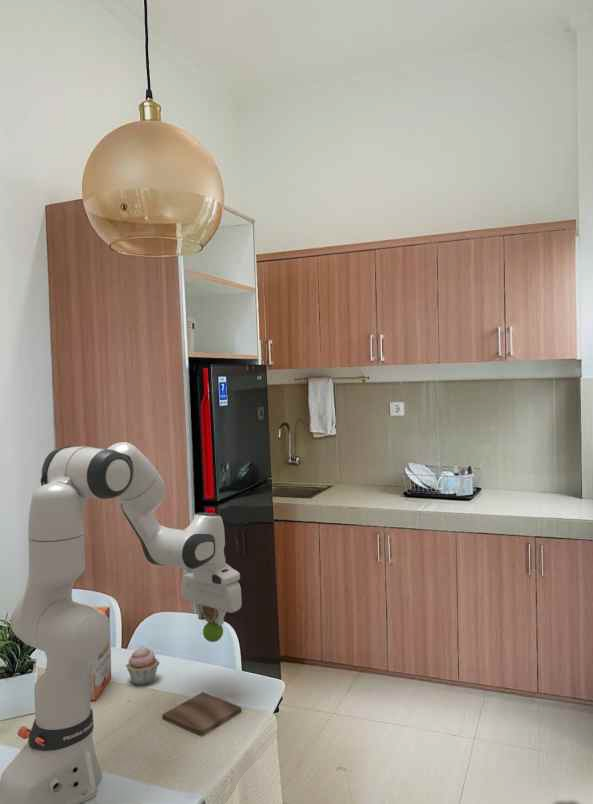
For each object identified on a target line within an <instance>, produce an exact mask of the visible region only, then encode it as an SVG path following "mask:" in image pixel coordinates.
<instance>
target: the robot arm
mask: <svg viewBox="0 0 593 804" xmlns="http://www.w3.org/2000/svg"><path fill="white" fill-rule="evenodd" d="M41 468H42V469H41V477H40V485H41V486H39V487H37V489H36V490H35V491H34V492H33V494H32V495H31V499H30V500H31V501H30V505H29V512H28V513H29V515H28V526H27V527H28V529H27V531H28V535H27V536H28V538H27V539H28V577H27V582H26V583H27V584H26V588H25V591H24V595H23V596H22V597H23V598H22V599H21V600H20V601H18V603H17V604H16V605H15V607H14V608H13V611H12V613H11V615H10V616H11V617H10V627H11V630H12V632H13V634H14V635H15V636H16V637H17V638H18V639H19V640H20V641H22V642H23V643H24V644H25V645H27V646H29V647H32V648H33V649H37V650H39V651H42V652H44V654H45V657H46V666H45V670H44V673H42V675H41V676H39V677H38V678H37V679H36V682H35V683H34V689H33V690H34V691H33V693H34V695H33V696H34V715H35V716H34V717H35V718H34V721H33V723H32V725H31V726H32V727H31V729H30V728H28V727H27V726H25V725H23V726H20V728H18V730H17V733H16V734H17V736H18V737H20V738H21V739H23V740H27V739H28V740H27V743H26V744H25V745H24V746H23V748H22V749H21V750H20V751H19V752H18V754H16V756H15V757H14V759H12V761H11V762H10V763H8V765H7V766H6V768H5V769H4V770H3V771H2V773H1V775H0V804H81V803H84V802H86V801H88V800H90V799H92V798H94V797H95V796H96V794H97V785H98V784H99V782H100V781H101V779H102V778H101V777H102V770H101V768H100V764H99V762H98V758H97V754H96V749H95V743H94V736H93V732H94V726H95V725H94V715H93V713H94V712H93V709H92V708H91V700H90V675H91V670H92V666H93V663H94V661H95V659H96V658H97V657H98V656H99V655H100V654H101V653H102V652H103V651H104V649H105V648H106V646H107V644H108V641H109V638H110V639H111V623H110V624H109V622H108V620H107V618H106V617H105V616H103V615H102V614H101V613H99V612H98V611H97V610H95V609H94V608H92V607H93V606H89V605H86V604H83V603H80V602H76V601H74V600H73V588H74V584H75V581H76V580H77V579H78V578H79V577H80V576H81V575H82V574H83V573H84V571H85V567H86V554H85V551H86V550H85V549H86V548H85V547H86V546H85V526H84V525H85V524H84V515H83V512H84V511H83V510H84V508H85V504H86V502H87V499H101V500H102V499H103V500H107V499H108V500H109V499H114V498H117V500H118V501H120V508H121V510H122V512H123V515H124V517H125V518H126V520H127V522H128V523H129V525H130V527H131V528H132V530H133V531H134V534H135V535H136V537H138V540H139V542H140V544H141V546H142V547H141V548H142V551H143V554H144V557H145V558H146V560H147V561H148V562H149V563H150V564H152V565H156V566H169V567H175V568H181V569H183V571H182V579H181V585H180V596H181V597H180V598H181V599H182V600H183V601H186V602H189V603H192V604H193V603H194V608H195V610H196V613H197V617H198V620H201V621H205V619H204V617H206V616H205V615H204V613H203V606H207V607H211V608H215V609H218V617H217V618H215V621H216V622H215V624H217V625H222V626H223V625H224V623H225V622H224V621H225V619H224V618H225V617H226V614H227V613H230V614H232V613H235V612H237V611H239V610H241V608H242V602H243V601H242V600H243V599H242V587H241V585H240V583H239V582H238V581H240V579H241V574H240V572H239V571H237V569H234V568H233V567H232V566H230V565H229V564H228V563H226V555H225V546H226V540H225V539H226V537H225V535H226V534H225V527H224V526H225V525H224V521H223V518H222V516H221V515H219V514H218V513H213V512H196V513H195V514H194V515H193V517H192V518H193V519H192V521H191V523H190V524H189V525H188V526H186V528H184V529H178V528H172V527H167V526H164V525H162V524H160V523H159V522H158V520H157V519H156V517H155V515H154V514H153V513H154V512H155V511H156V510H157V509H158V508H160V506H161V504H162V503H163V502H164V499H165V496H166V492H167V490H166V488H167V487H166V485H165V481H164V479H163V477H162V475H160V473H159V472H158V470H157V469H156V467H155V466H154V465H153V463H152V462H151V461H150V460H149V459H148V457H147V456H146V455H144V453H143V452H142V451H141V450H140V449H139V448H137V447H136V446H135V444H132V443H130V442H127V441H125V442H124V441H123V442H122V441H121V442H116V443H113V444H112V445H110V446H109V447H107V449H104V448H97V447H92V446H87V445H86V446H81V445H80V446H69V445H67V446H61V447H58V448H56V449H53V450H52V451H50V452H49V453H48V455H47V456H46V457H45V458H44V461H43V464H42V467H41Z"/></svg>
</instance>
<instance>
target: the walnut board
mask: <svg viewBox="0 0 593 804" xmlns="http://www.w3.org/2000/svg"><path fill="white" fill-rule="evenodd" d="M240 713H242V706H239V705H237V704H234V703H233V702H232V703H231V702H229V701H227V700H224V699H221V698H220V697H216V696H213V695H211V694H209V693H206V692H204V691H202V692H201V693H198V694H196V695H195V696H193V697H191V698H189V699H187V700H186V701H184V702H182V703H180V704H179V705H176V706H175V707H173V708H171V709H169V710H167V711H166V712H164V713H162V720H164V721H165V722H168V723H171V724H173V725H174V726H176V727H178V728H181V729H184V730H186V731H189V732H190V733H193V734H195V735H197V736H200V737H203V736H204V735H207V734H208V733H210V732H212V731H213V730H215V729H216V728H218V727H219V726H221V725H222V724H224V723H226V722H228V721H229V720H230V719H232V718H234V717H235V716H237V715H238V714H240ZM206 733H207V734H206Z"/></svg>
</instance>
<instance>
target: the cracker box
mask: <svg viewBox="0 0 593 804" xmlns="http://www.w3.org/2000/svg"><path fill="white" fill-rule="evenodd" d="M91 607H92V608H94V609H95V610H97V611H98V612H99V613H101V614H102V615H103V616H105V617H106V618H107V620H108V622H109V624H110V625H111V615H110V614H111V611H110V610H111V609H110V606H107V605H105V606H91ZM111 648H112V647H111V637H110V638H109V641H108V644H107V646H106V648H105V649H104V651H103V652H102V653H101V654H100V655H99V656H98V657H97V658H96V659H95V661H94V663H93V666H92V670H91V675H90V701H97V700H98V698H99V696H100V695H101V693H102V692H103V691H104V689H105V687H106V686H107V685H108V683H109V682H110V681H111V679H112V650H111Z"/></svg>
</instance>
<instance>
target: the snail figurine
mask: <svg viewBox="0 0 593 804" xmlns="http://www.w3.org/2000/svg"><path fill="white" fill-rule="evenodd" d="M203 613H204V615H205V616H206V617H204V621H206V622H207V623H206V624H205V625H204V627H203V629H202V634H203V636H204V639H206V641H208V642H210V643H215V642H217V641H219V640H221V638H222V637H223V635H224V627H223V624H222V625H217V624H215V622H216V621H215V618H217V617H218V615H219V613H218V609H215V608H211V607H207V606H204V605H203Z"/></svg>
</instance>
